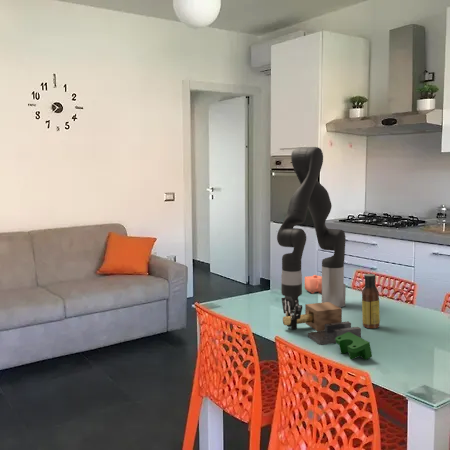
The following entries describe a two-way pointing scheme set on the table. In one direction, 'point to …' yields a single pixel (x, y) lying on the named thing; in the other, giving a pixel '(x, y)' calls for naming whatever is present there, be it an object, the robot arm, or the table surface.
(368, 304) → the sauce bottle
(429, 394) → the table surface
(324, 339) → the rest
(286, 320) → the cannon barrel
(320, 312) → the wooden mallet head
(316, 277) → the pink cube teapot
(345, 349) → the clamp
